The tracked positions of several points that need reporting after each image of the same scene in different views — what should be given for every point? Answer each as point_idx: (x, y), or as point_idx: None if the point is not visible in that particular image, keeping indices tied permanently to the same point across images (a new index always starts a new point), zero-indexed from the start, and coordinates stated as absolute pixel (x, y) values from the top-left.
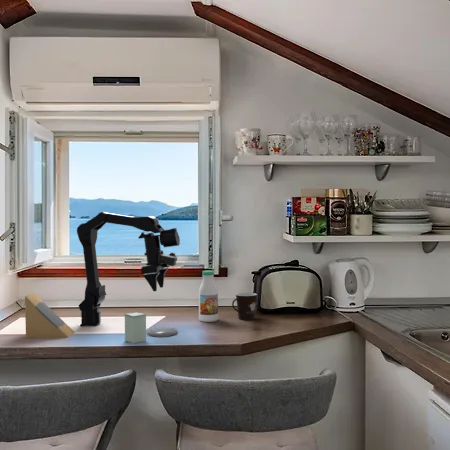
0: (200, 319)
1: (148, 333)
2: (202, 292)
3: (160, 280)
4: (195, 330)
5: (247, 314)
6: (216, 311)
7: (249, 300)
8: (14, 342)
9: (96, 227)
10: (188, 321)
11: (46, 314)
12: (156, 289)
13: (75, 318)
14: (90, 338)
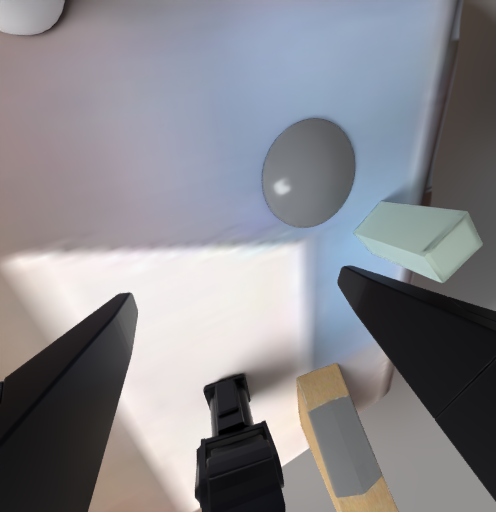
0: (53, 17)
1: (332, 215)
2: None
3: (103, 377)
4: (263, 39)
5: None
6: None
7: None
8: (359, 405)
9: None
10: (87, 109)
11: (363, 441)
12: (356, 269)
13: (171, 450)
14: (347, 326)
